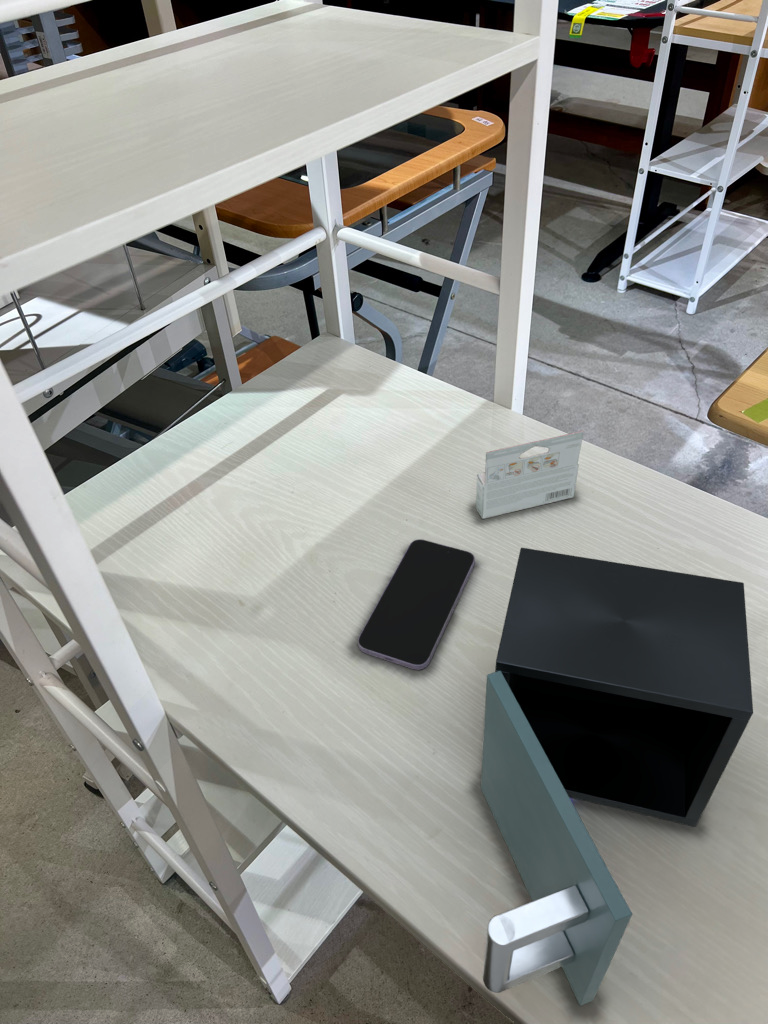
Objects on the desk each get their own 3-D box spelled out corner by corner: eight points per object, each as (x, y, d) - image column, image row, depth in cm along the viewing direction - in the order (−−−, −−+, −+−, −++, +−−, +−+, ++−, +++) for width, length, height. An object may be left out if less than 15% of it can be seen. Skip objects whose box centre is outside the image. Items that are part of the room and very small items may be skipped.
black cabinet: (695, 827, 57) (753, 713, 46) (487, 778, 61) (495, 661, 50) (694, 705, 64) (744, 582, 54) (509, 668, 68) (520, 546, 57)
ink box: (474, 507, 84) (476, 439, 78) (565, 486, 86) (575, 417, 79) (481, 521, 83) (484, 453, 76) (575, 499, 84) (585, 430, 78)
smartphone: (353, 645, 70) (413, 536, 80) (354, 652, 71) (413, 543, 81) (424, 668, 68) (478, 553, 77) (425, 675, 69) (478, 561, 78)
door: (498, 1041, 48) (511, 963, 37) (412, 811, 59) (404, 701, 48) (593, 1000, 49) (632, 914, 38) (491, 783, 60) (500, 670, 50)
